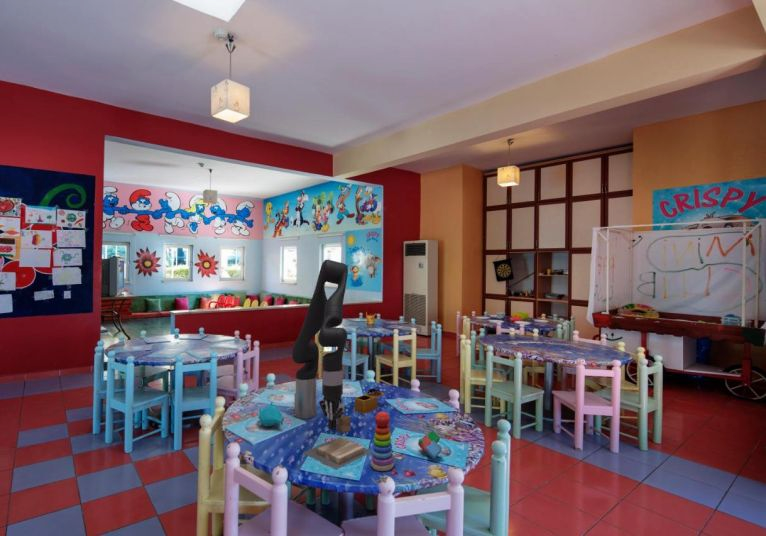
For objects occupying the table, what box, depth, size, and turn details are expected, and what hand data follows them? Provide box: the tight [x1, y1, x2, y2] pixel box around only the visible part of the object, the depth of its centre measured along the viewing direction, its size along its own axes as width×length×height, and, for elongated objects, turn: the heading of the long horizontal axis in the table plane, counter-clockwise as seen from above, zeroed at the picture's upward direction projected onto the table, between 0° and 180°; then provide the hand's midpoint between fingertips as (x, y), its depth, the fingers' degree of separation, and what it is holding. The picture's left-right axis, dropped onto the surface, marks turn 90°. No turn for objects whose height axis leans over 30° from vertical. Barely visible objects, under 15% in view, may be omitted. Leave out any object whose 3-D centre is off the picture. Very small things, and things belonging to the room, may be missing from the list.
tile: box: [317, 437, 365, 464], centre depth 148 cm, size 2×12×12 cm
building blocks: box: [417, 429, 442, 460], centre depth 150 cm, size 8×8×12 cm
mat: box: [302, 436, 372, 470], centre depth 149 cm, size 18×18×1 cm
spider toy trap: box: [354, 387, 385, 415], centre depth 197 cm, size 6×15×9 cm, turn 139°
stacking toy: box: [370, 411, 395, 472], centre depth 140 cm, size 8×8×19 cm
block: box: [336, 414, 352, 434], centre depth 169 cm, size 4×4×6 cm
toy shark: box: [257, 401, 285, 427], centre depth 173 cm, size 10×18×11 cm, turn 49°
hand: (332, 429), depth 151 cm, fingers closed
